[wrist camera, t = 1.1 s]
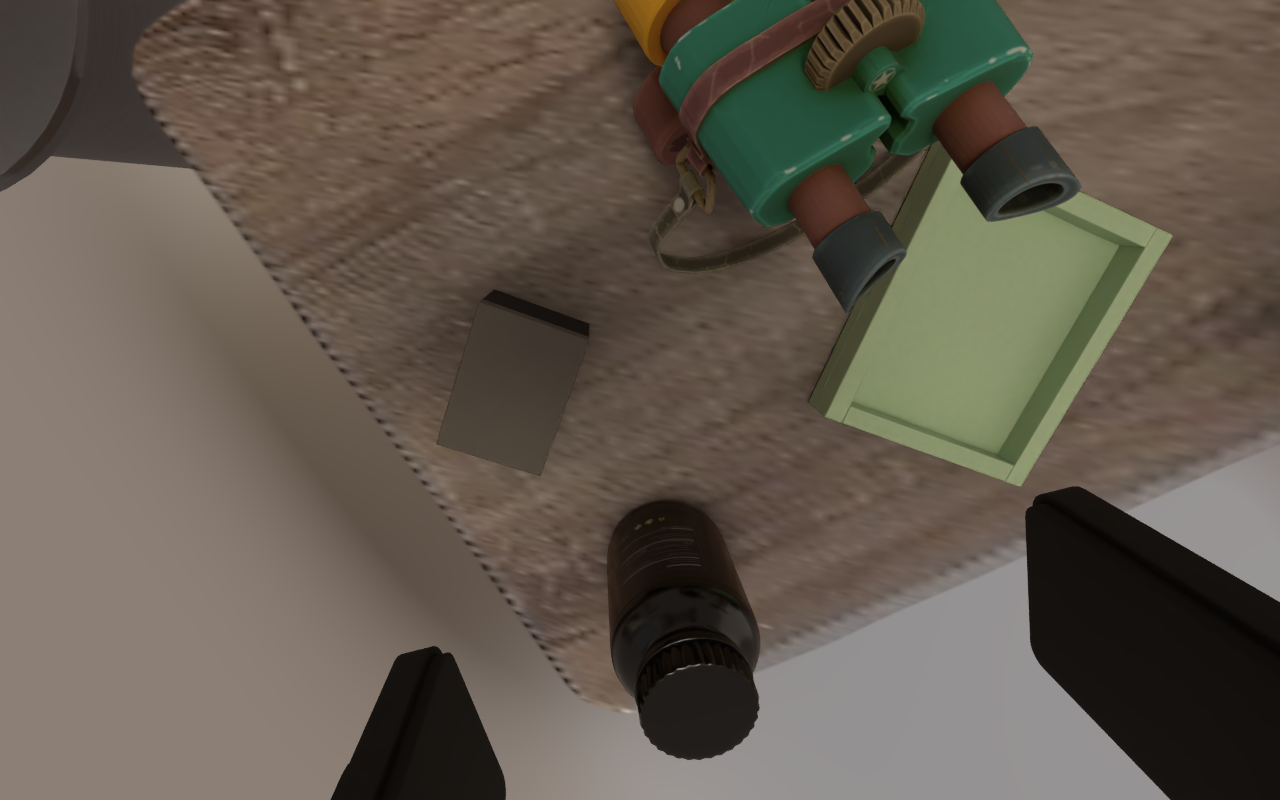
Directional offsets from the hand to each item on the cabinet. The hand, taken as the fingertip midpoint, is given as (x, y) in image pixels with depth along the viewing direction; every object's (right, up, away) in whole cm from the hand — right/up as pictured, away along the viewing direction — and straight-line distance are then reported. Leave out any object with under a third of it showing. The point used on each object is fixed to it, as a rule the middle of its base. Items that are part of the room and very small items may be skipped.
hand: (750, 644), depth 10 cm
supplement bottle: (0, -5, +25) cm, 26 cm away
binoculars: (+3, +17, +19) cm, 26 cm away
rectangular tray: (+15, +8, +22) cm, 28 cm away
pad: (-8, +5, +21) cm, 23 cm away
